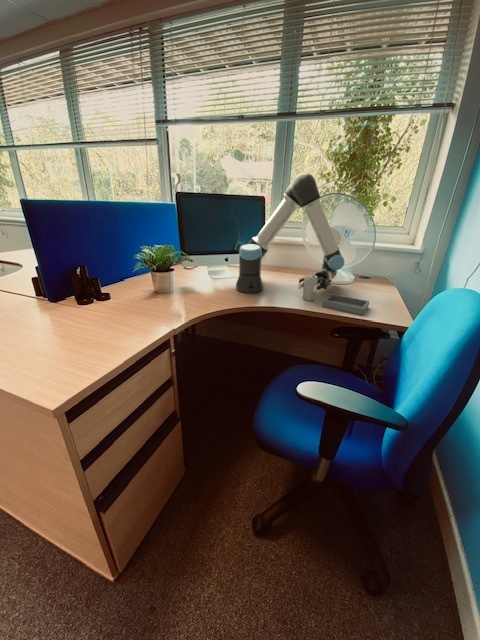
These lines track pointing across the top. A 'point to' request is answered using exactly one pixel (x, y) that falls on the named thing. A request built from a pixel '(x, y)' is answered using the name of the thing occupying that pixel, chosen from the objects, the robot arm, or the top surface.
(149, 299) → the top surface
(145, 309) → the top surface
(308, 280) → the beverage can
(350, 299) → the tray
